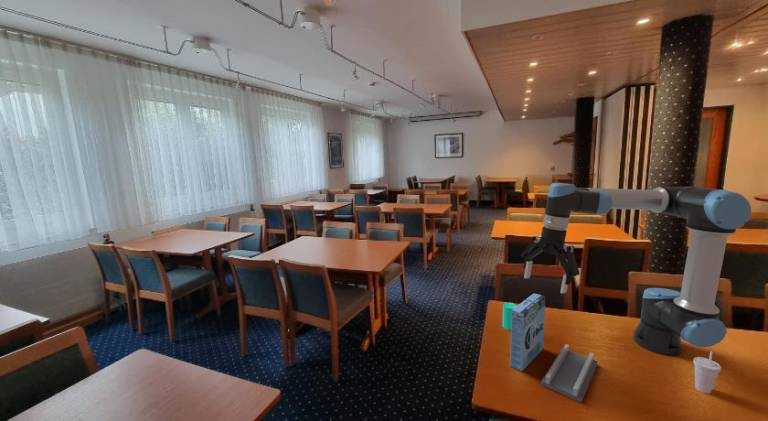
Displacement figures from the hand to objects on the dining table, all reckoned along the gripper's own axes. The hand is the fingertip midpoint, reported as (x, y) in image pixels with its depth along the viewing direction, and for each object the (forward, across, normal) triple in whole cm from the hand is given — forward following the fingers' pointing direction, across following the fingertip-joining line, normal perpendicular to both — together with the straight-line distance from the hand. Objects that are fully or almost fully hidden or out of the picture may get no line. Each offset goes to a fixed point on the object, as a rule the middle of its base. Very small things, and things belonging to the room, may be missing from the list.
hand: (544, 284), depth 113 cm
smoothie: (+26, +40, +33) cm, 58 cm away
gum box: (+32, -3, +3) cm, 33 cm away
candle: (+32, -20, +16) cm, 42 cm away
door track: (+31, +12, +6) cm, 33 cm away
